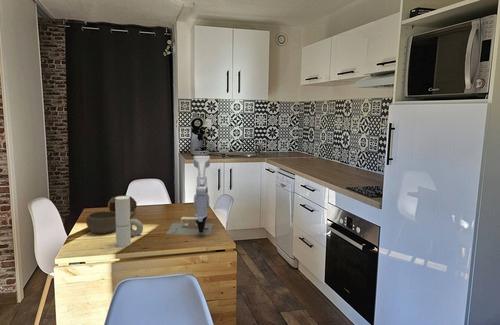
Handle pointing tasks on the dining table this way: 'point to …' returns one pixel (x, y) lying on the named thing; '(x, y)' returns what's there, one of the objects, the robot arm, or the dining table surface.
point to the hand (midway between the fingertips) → (201, 230)
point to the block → (191, 224)
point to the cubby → (184, 228)
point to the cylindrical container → (122, 221)
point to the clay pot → (112, 205)
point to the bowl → (101, 222)
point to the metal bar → (174, 230)
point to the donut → (137, 224)
